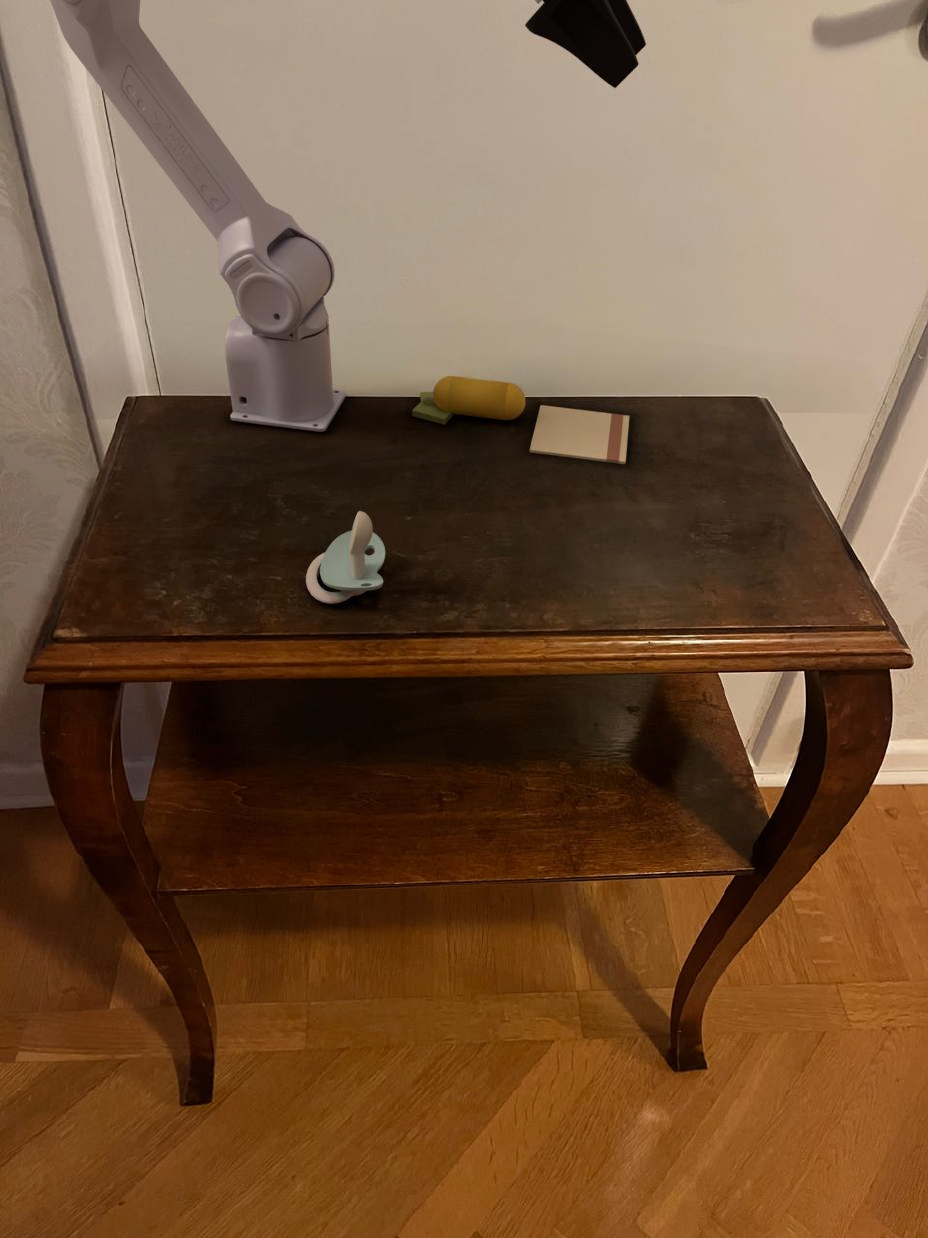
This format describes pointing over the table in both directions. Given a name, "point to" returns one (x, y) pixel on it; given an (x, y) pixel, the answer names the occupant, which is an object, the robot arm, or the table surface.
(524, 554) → the table surface
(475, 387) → the corn
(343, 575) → the pacifier
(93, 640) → the table surface
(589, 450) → the towel
